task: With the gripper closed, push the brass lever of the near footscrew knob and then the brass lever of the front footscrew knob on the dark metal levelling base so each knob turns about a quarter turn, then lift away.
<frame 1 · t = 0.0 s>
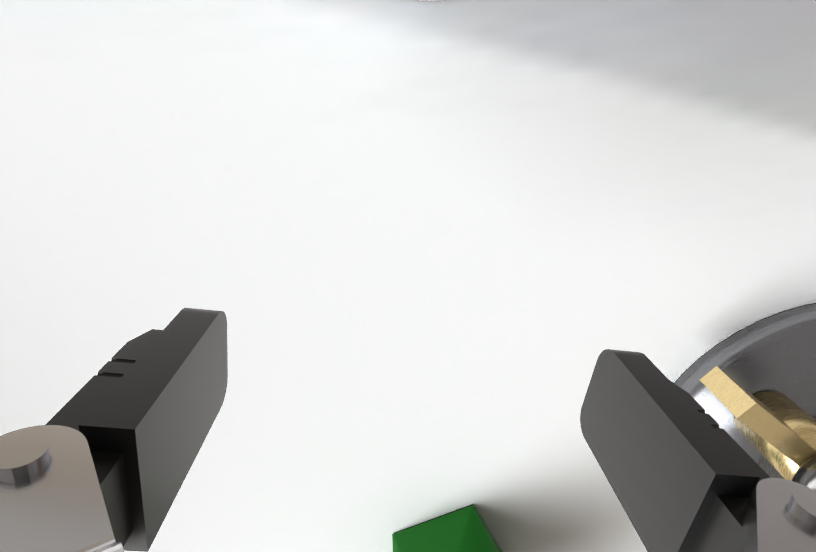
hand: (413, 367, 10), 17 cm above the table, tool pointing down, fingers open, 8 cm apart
milk carton: (449, 542, 38), on the table
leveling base: (791, 433, 34), on the table
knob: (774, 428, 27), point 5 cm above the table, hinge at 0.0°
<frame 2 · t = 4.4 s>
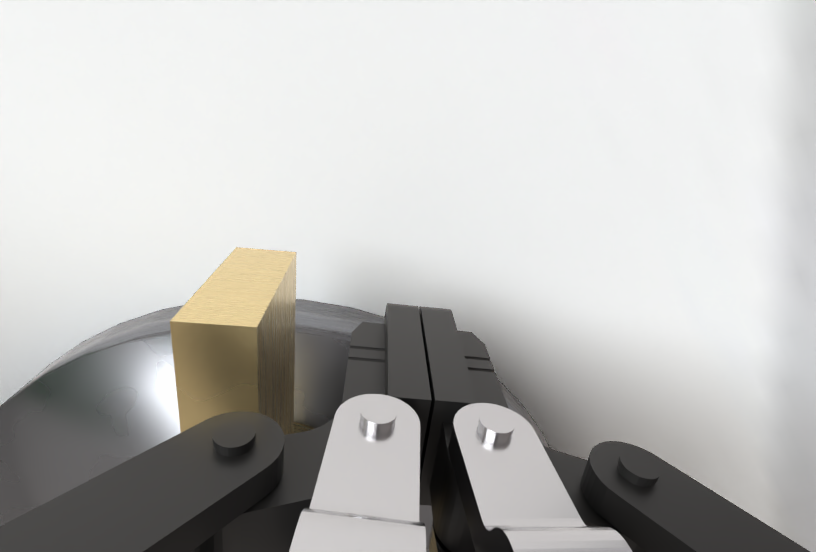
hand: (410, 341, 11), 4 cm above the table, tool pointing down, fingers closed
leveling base: (287, 551, 19), on the table
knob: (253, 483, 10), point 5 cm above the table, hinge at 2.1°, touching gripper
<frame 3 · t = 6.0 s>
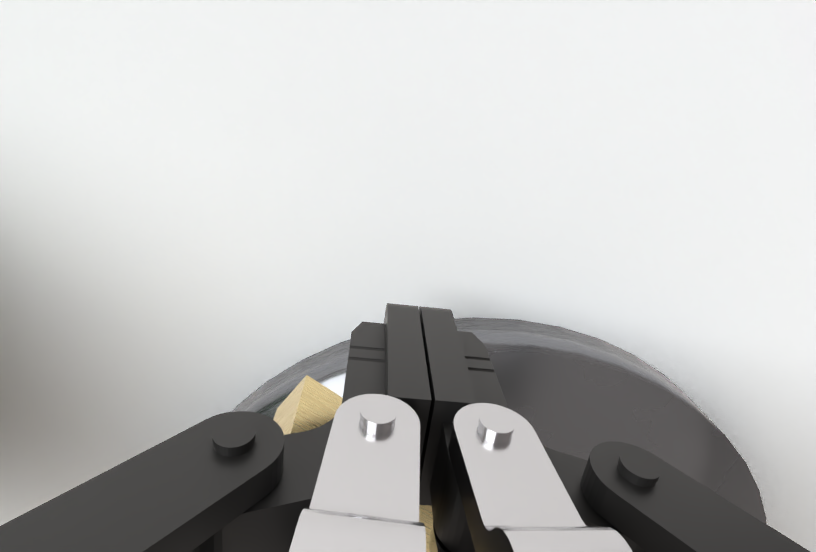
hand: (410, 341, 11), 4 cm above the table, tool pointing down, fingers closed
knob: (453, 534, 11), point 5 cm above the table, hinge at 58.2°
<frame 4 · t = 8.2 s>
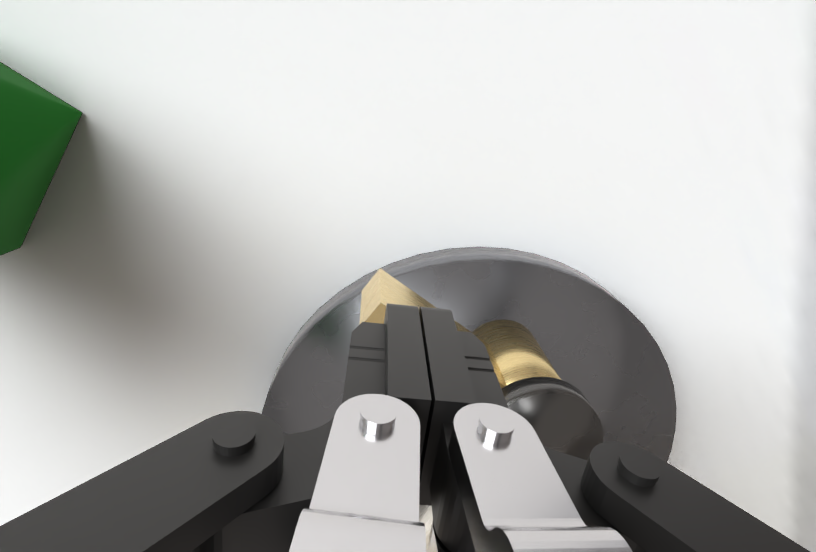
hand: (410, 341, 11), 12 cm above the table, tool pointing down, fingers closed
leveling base: (464, 431, 27), on the table
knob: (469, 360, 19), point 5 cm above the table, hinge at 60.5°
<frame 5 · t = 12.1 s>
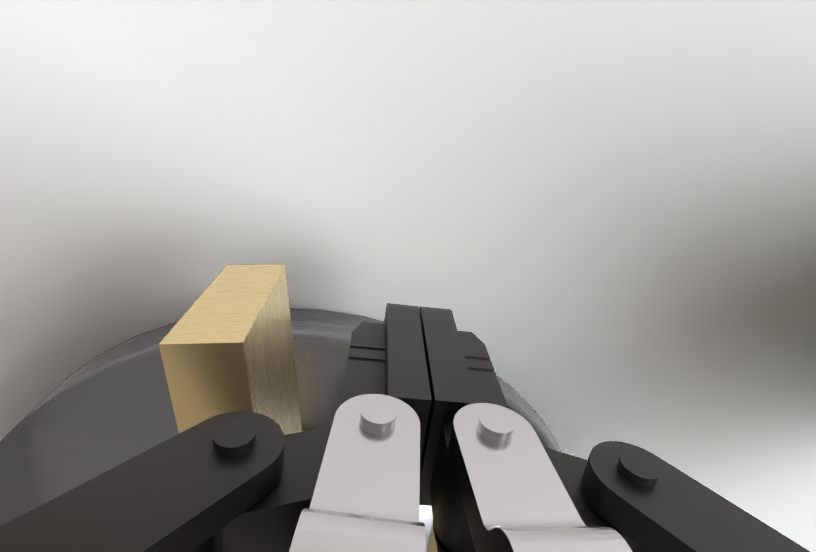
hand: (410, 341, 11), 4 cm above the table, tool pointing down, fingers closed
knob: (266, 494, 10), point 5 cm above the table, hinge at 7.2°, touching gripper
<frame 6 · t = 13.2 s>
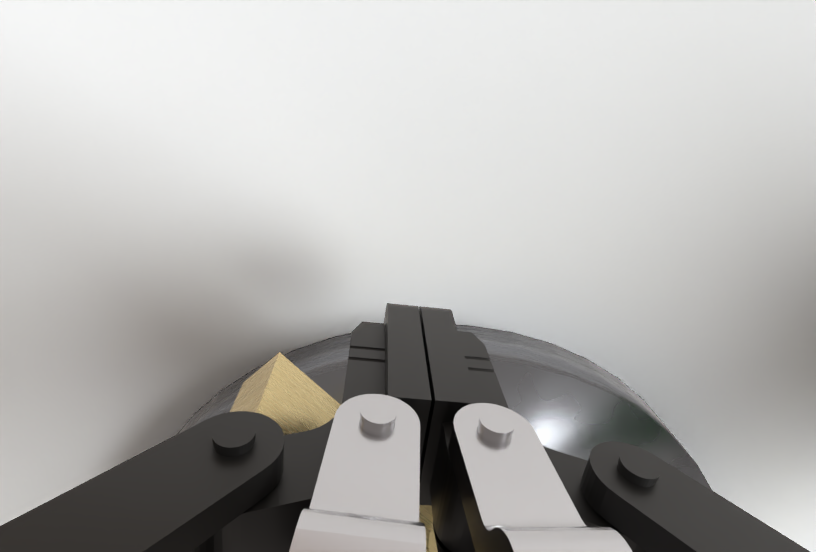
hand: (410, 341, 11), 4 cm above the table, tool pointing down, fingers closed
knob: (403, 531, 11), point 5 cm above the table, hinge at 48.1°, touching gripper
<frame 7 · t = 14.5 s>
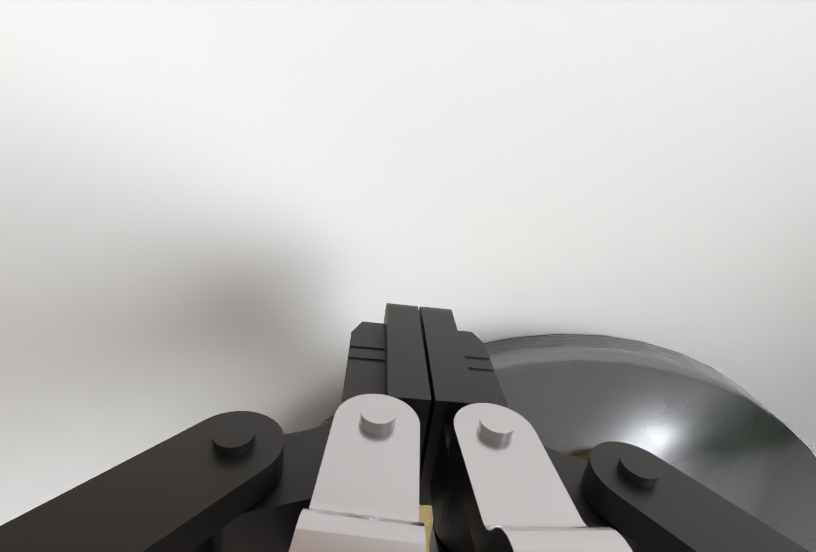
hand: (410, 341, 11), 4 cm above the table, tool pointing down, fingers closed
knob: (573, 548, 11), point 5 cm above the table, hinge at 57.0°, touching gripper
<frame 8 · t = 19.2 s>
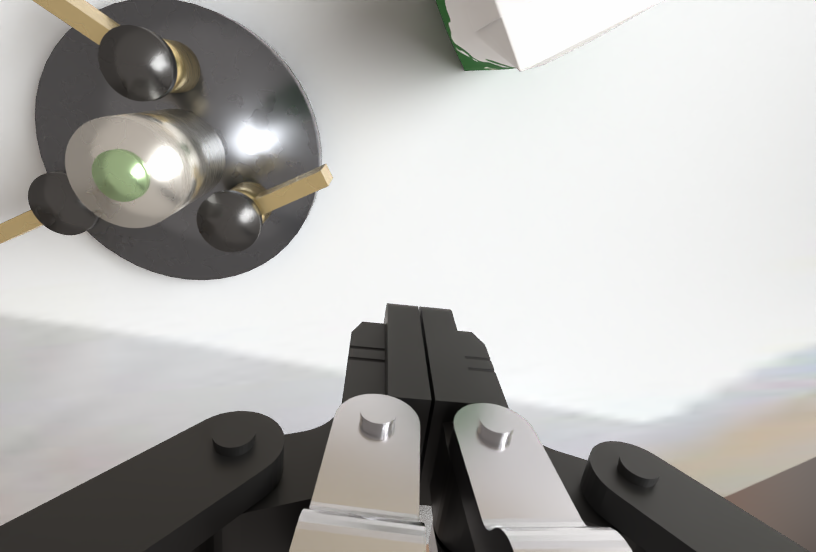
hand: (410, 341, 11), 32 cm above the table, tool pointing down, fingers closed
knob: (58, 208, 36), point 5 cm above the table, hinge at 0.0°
milk carton: (487, 6, 37), on the table
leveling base: (190, 151, 40), on the table
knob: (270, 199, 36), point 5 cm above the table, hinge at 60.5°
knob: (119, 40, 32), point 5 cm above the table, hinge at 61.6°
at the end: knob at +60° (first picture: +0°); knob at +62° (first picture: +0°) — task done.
